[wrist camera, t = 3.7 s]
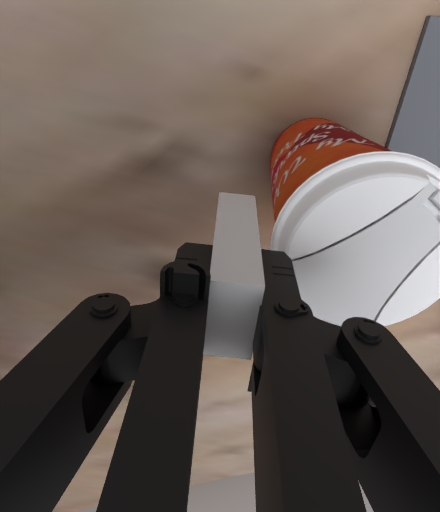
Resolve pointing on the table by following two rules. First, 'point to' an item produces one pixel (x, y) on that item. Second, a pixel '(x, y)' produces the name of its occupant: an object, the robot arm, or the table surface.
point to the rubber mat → (420, 101)
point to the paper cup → (356, 223)
